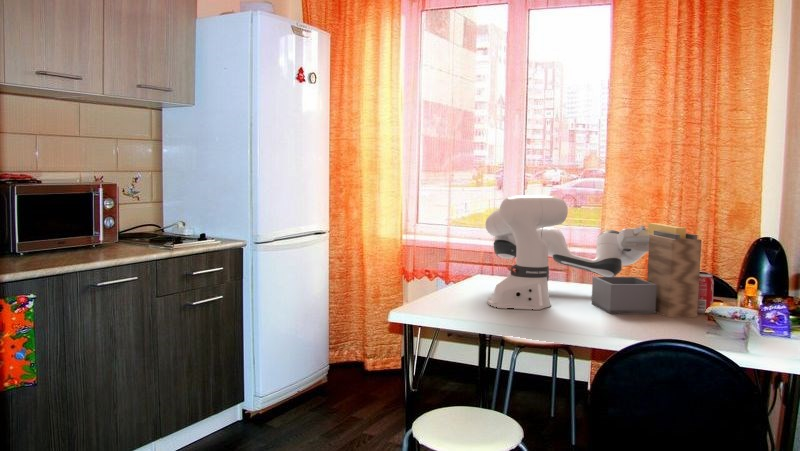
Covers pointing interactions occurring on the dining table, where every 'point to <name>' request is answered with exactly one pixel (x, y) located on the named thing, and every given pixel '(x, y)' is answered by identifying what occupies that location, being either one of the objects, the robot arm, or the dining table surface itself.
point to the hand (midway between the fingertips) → (656, 227)
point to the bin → (624, 295)
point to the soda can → (705, 292)
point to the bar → (667, 229)
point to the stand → (675, 273)
